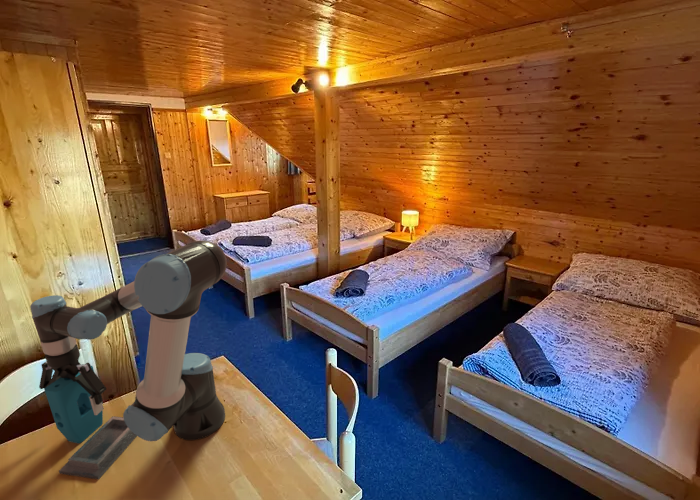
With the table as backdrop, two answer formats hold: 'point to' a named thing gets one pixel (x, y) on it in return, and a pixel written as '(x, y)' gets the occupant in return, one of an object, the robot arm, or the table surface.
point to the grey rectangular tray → (100, 450)
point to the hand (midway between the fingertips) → (79, 409)
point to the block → (72, 409)
